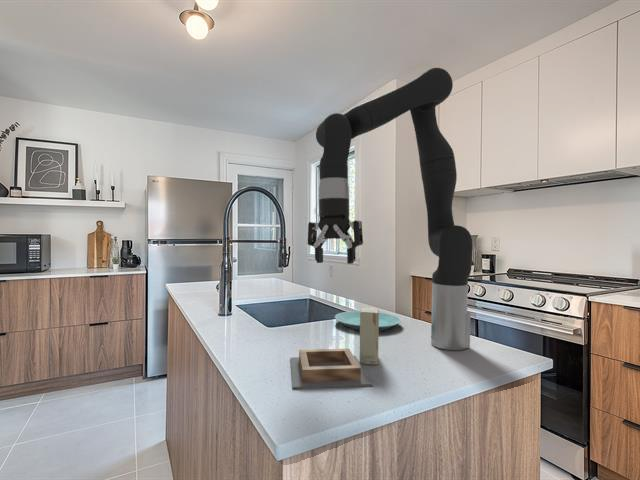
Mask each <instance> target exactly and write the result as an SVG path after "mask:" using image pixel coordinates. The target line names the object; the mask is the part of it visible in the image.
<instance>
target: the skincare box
mask: <svg viewBox="0 0 640 480" xmlns="http://www.w3.org/2000/svg"><path fill="white" fill-rule="evenodd" d="M360 311H361V312H360V330H359V363H360V364H366V365H373V366H377V365H378V364H379V337H380V336H379V332H380V331H379V312H380V309H379V307H378V308H377V307H361V309H360Z"/></svg>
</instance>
